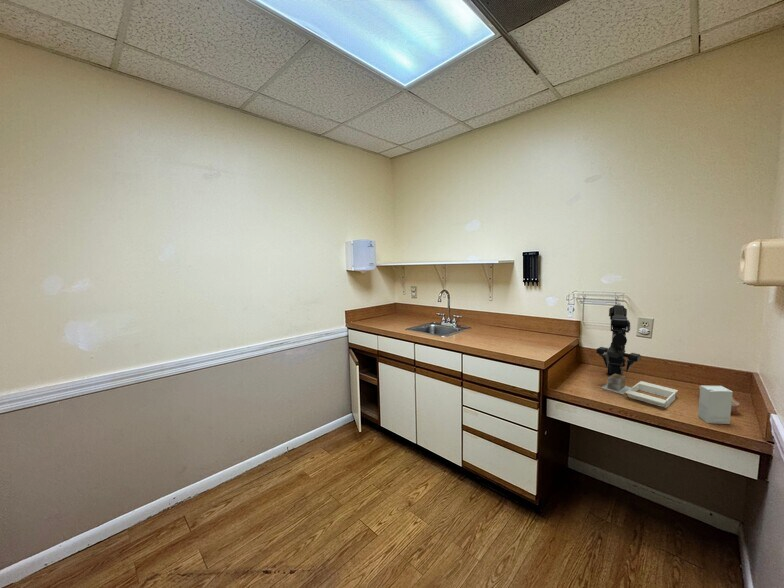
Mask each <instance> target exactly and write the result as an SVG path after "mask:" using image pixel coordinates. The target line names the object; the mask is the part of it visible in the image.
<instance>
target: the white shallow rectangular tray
mask: <svg viewBox="0 0 784 588" xmlns="http://www.w3.org/2000/svg"><path fill="white" fill-rule="evenodd" d="M638 391H642V392H646V393H649V394H654V395H658V396H660V397H663V398H666V399H663V398H660V397H655V396H653V395H649V394H646V393H641V392H638ZM678 391H679V390H678V389H674V388H671V387H666V386H664V385H659V384H654V383H650V382H647V381H643V380H640V381H639V382H637V383H636V384H635V385H634V386H631V388H630V389H629V390H628V391H626V392H625V393H624V394H627V397H628V398H631V399H634V400H638V401H640V402H644V403H648V404H651V405H655V406H658V407H661V408H665V409H667V408H668V407H669V406H670V405H671V404H672V403H673V402H675V400H676V393H678Z"/></svg>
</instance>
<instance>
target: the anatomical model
mask: <svg viewBox="0 0 784 588" xmlns="http://www.w3.org/2000/svg"><path fill="white" fill-rule="evenodd" d="M700 386H710V385H709V384H701V385H699V386H698V388H699V391H700ZM739 407H740V402H739V401H737V400H736V399H734V398H733V397H732V405H731V413H732V412H735V411H737V409H738V408H739Z"/></svg>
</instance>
